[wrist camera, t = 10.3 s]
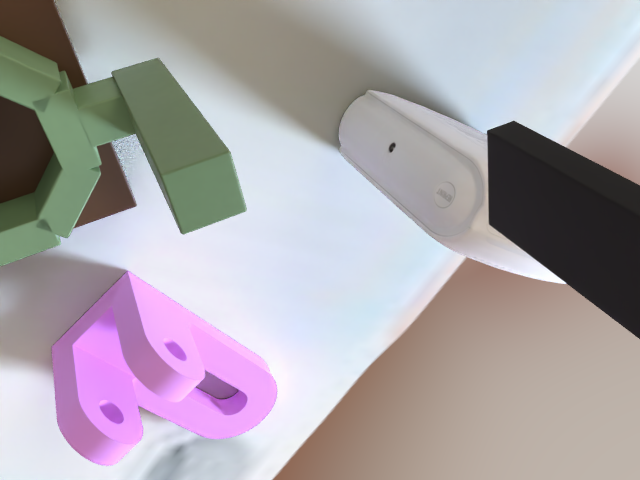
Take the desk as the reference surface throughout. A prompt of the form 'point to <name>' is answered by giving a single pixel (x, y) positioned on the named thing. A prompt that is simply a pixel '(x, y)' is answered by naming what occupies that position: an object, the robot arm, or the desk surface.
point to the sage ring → (105, 126)
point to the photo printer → (432, 176)
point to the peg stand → (24, 126)
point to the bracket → (150, 373)
